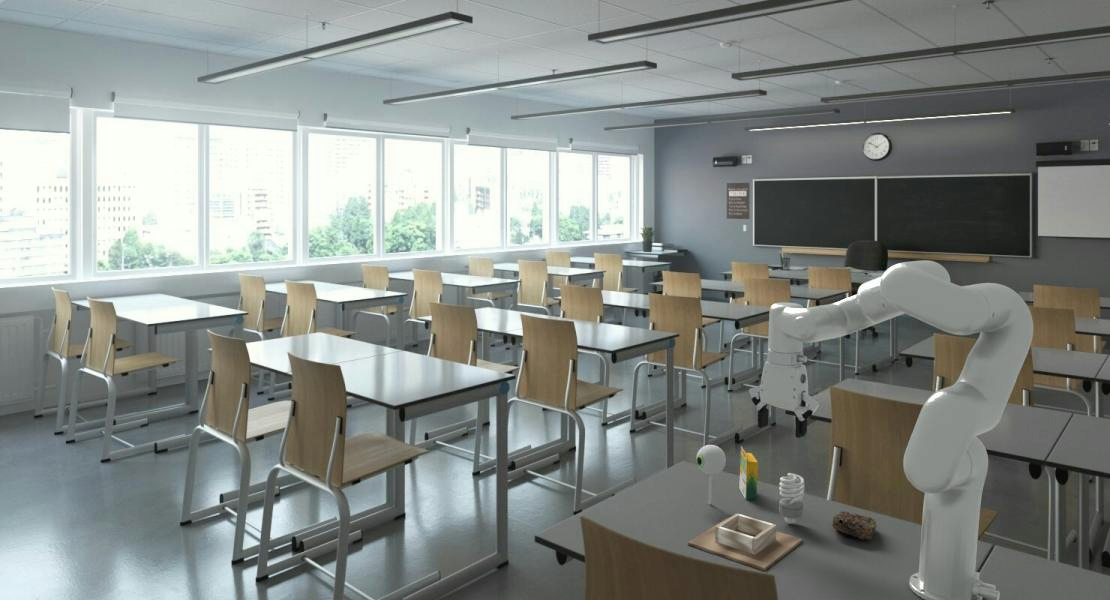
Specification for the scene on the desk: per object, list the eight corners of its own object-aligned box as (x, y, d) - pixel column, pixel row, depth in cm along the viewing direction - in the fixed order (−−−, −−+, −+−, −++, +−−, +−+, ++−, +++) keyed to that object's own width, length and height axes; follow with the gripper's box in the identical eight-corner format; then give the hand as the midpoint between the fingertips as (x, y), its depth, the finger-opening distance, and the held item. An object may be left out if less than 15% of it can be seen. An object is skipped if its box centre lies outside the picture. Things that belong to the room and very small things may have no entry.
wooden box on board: (802, 541, 172) (802, 524, 172) (764, 570, 159) (765, 552, 158) (728, 519, 184) (729, 502, 184) (687, 544, 171) (688, 527, 170)
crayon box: (757, 500, 196) (758, 455, 194) (745, 499, 196) (746, 455, 194) (750, 489, 203) (752, 445, 201) (738, 488, 203) (740, 445, 202)
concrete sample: (868, 548, 169) (869, 526, 169) (822, 535, 176) (823, 514, 175) (885, 531, 178) (887, 510, 177) (841, 519, 185) (842, 498, 184)
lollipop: (689, 501, 195) (690, 443, 193) (713, 496, 198) (714, 439, 196) (706, 511, 188) (708, 451, 186) (730, 506, 191) (732, 447, 189)
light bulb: (804, 530, 178) (806, 479, 177) (778, 528, 179) (780, 477, 178) (801, 520, 184) (803, 470, 182) (776, 518, 185) (778, 469, 183)
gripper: (829, 361, 172) (824, 437, 175) (761, 349, 185) (758, 419, 187) (810, 367, 167) (806, 444, 170) (742, 354, 180) (739, 426, 182)
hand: (781, 431), depth 178 cm, fingers open, 9 cm apart
